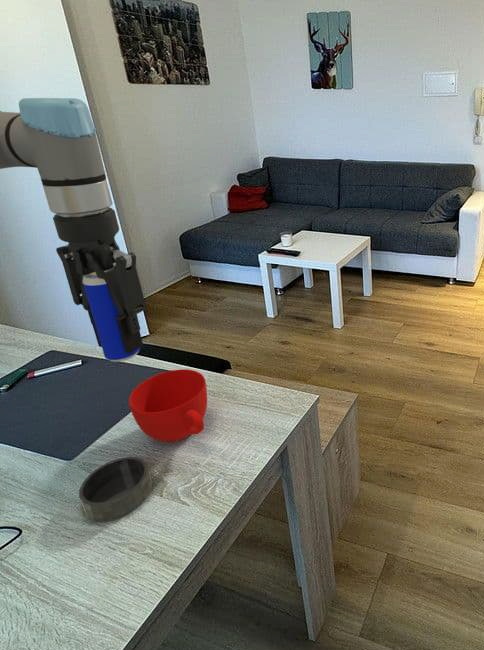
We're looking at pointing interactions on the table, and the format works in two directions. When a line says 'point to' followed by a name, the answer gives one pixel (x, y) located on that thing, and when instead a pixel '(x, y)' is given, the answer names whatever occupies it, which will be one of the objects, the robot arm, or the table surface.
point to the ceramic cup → (170, 405)
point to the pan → (115, 489)
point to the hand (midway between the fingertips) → (121, 345)
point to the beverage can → (105, 318)
